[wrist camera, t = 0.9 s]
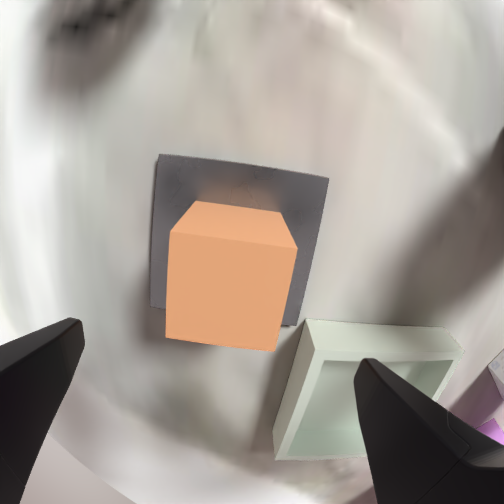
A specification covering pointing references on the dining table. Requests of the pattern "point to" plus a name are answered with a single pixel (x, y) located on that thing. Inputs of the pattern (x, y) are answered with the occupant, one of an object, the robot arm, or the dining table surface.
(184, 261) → the terracotta orange cube
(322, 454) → the tray
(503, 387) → the light bulb box
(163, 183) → the stud plate
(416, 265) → the dining table surface
